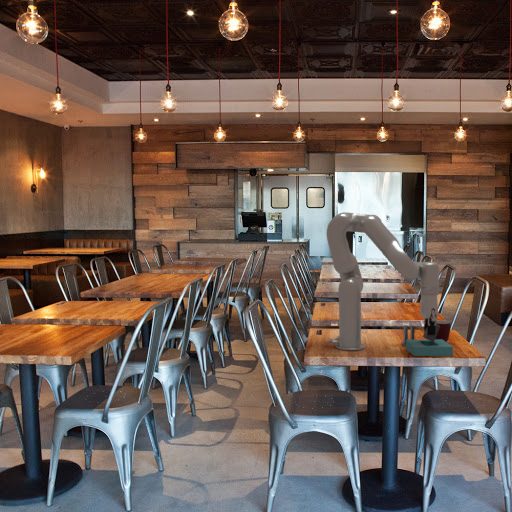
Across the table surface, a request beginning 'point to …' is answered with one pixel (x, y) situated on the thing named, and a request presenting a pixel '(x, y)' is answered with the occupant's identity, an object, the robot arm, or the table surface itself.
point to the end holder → (429, 348)
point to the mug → (443, 330)
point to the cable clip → (412, 331)
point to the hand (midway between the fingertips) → (429, 333)
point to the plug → (431, 337)
